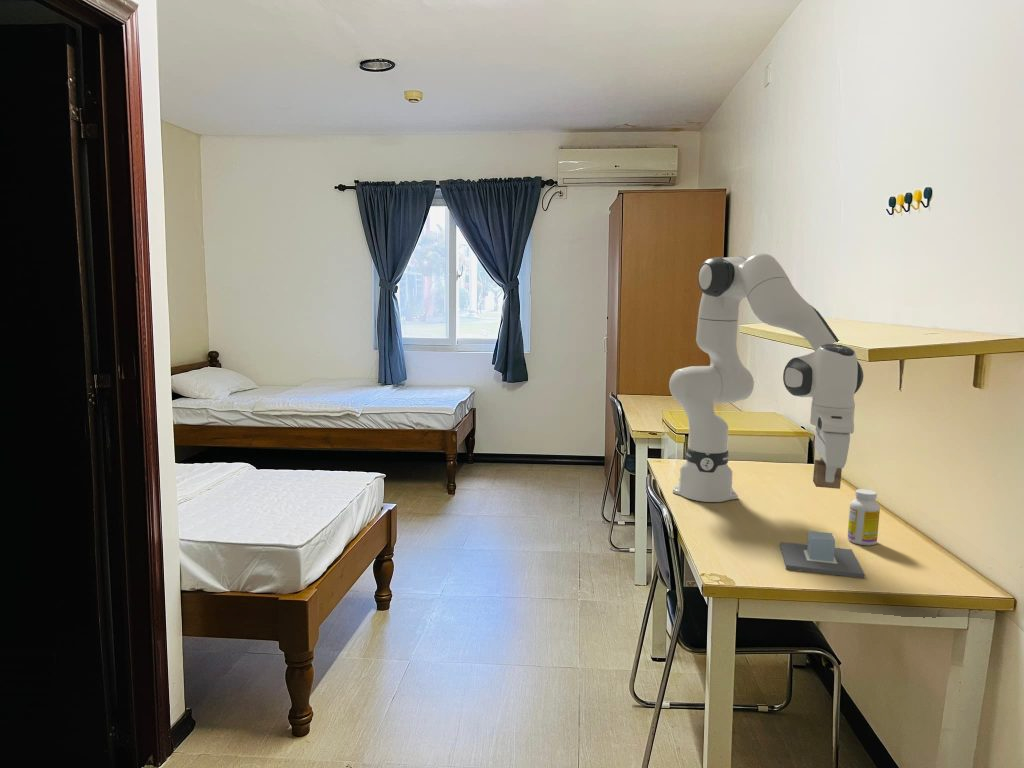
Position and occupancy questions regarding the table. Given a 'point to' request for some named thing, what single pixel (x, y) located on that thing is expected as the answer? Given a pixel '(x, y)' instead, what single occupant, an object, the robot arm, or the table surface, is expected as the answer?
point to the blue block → (821, 546)
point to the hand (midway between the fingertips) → (826, 477)
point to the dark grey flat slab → (841, 565)
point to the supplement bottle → (864, 518)
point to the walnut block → (820, 476)
